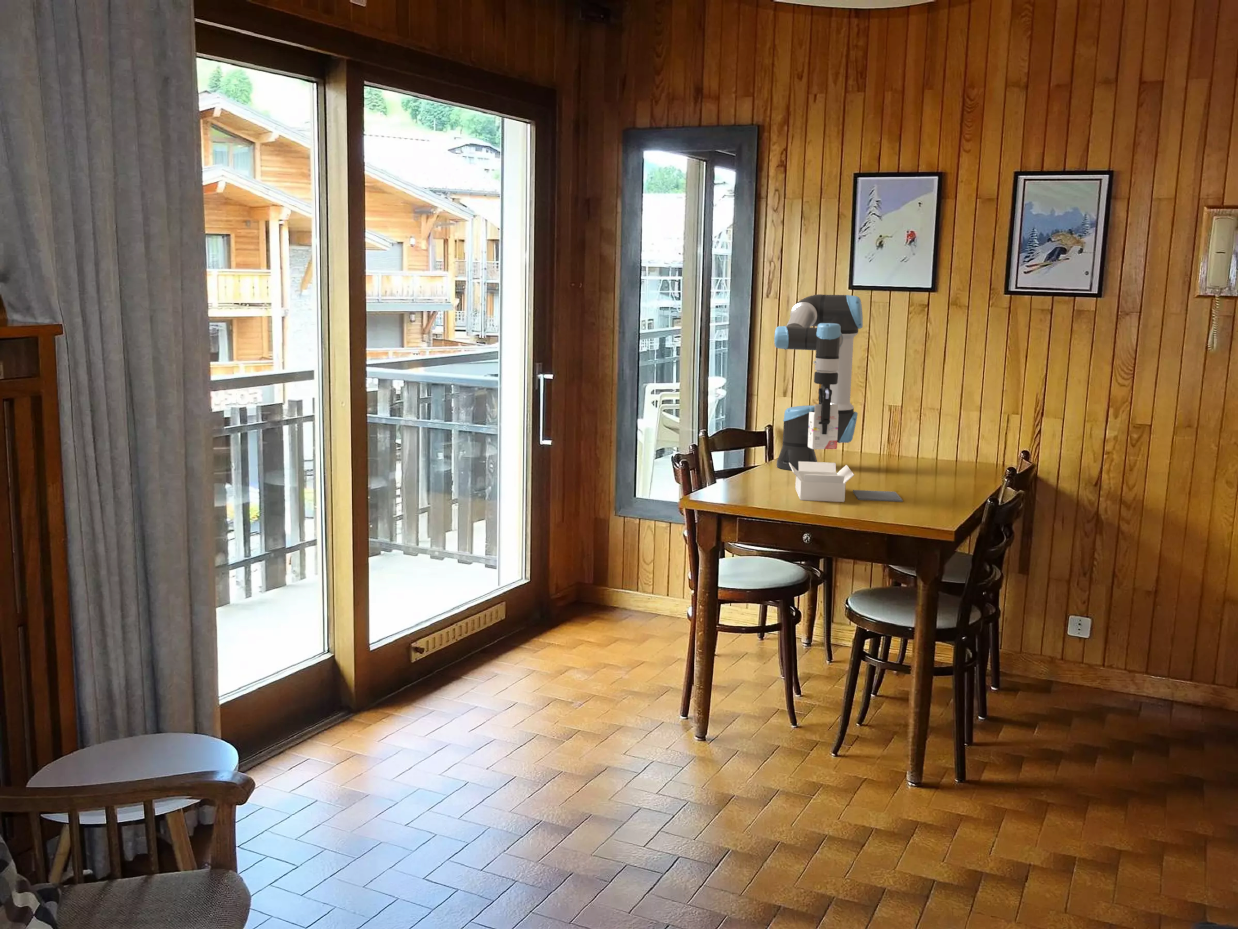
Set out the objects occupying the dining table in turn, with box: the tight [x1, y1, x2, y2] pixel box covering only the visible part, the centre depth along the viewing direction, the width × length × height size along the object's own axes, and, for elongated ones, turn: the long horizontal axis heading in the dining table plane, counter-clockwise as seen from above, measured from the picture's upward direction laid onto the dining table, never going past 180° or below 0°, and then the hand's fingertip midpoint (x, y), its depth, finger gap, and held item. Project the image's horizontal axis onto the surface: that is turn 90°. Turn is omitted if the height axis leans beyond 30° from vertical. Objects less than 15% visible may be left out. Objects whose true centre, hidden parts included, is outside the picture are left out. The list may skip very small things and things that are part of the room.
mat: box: [852, 489, 904, 503], centre depth 367 cm, size 14×14×1 cm
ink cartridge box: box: [808, 403, 839, 450], centre depth 363 cm, size 9×5×15 cm, turn 101°
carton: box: [789, 461, 855, 503], centre depth 366 cm, size 25×19×9 cm
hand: (822, 442), depth 364 cm, fingers closed on ink cartridge box, 6 cm apart
